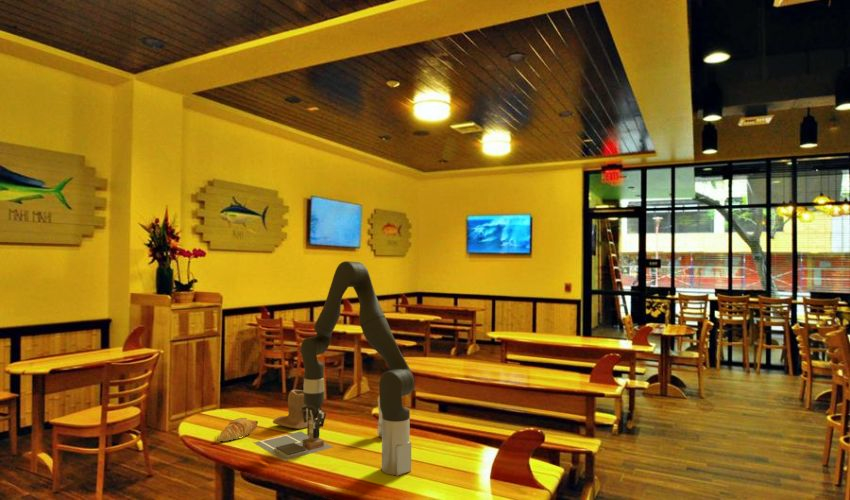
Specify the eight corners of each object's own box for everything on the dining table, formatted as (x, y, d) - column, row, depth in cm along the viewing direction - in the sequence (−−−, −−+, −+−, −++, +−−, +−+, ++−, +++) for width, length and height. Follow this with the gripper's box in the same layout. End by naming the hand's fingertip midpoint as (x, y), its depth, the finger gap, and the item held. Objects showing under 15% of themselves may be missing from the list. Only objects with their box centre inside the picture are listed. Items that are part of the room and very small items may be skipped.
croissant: (223, 454, 195) (231, 436, 193) (205, 438, 198) (213, 421, 197) (261, 435, 214) (268, 419, 213) (244, 421, 218) (251, 406, 216)
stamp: (323, 446, 192) (324, 417, 192) (310, 449, 188) (310, 420, 188) (315, 442, 196) (316, 414, 196) (302, 445, 192) (303, 417, 192)
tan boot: (318, 425, 219) (319, 389, 220) (298, 433, 209) (299, 395, 209) (291, 419, 227) (292, 385, 227) (271, 427, 216) (272, 391, 217)
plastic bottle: (393, 439, 202) (393, 388, 202) (376, 439, 202) (376, 388, 202) (394, 434, 208) (395, 384, 209) (377, 434, 208) (378, 384, 209)
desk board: (333, 449, 191) (333, 443, 191) (283, 463, 177) (283, 456, 177) (300, 433, 208) (300, 428, 209) (253, 444, 195) (253, 439, 195)
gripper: (332, 392, 190) (332, 439, 189) (312, 385, 200) (312, 430, 200) (315, 395, 185) (314, 443, 184) (295, 388, 195) (294, 434, 195)
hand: (313, 436), depth 192 cm, fingers open, 3 cm apart
